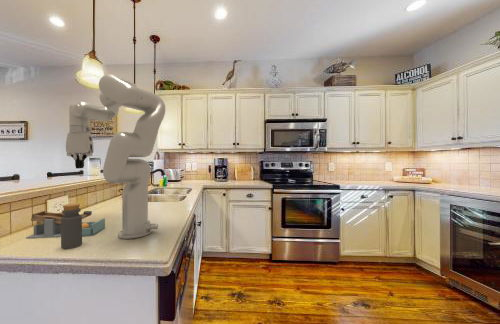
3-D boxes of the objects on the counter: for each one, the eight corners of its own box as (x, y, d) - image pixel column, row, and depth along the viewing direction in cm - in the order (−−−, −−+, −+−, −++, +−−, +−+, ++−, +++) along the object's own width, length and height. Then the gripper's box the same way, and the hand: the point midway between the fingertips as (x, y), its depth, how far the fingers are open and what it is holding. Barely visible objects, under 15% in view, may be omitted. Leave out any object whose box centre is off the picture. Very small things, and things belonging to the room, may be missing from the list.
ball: (82, 222, 92) (82, 230, 92) (76, 224, 89) (77, 233, 89) (90, 221, 93) (91, 229, 93) (86, 223, 89) (86, 232, 89)
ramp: (92, 217, 103) (93, 209, 103) (70, 228, 87) (71, 218, 87) (58, 214, 100) (60, 206, 101) (30, 224, 85) (31, 214, 85)
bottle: (69, 249, 73) (69, 206, 73) (56, 248, 74) (56, 205, 74) (86, 243, 79) (85, 203, 79) (73, 242, 80) (73, 202, 80)
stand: (81, 229, 95) (81, 213, 95) (67, 236, 86) (66, 219, 86) (44, 231, 92) (44, 215, 92) (26, 238, 84) (26, 220, 84)
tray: (104, 228, 97) (104, 218, 97) (92, 235, 87) (92, 224, 87) (82, 229, 95) (82, 219, 95) (67, 237, 85) (66, 225, 85)
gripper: (100, 131, 108) (100, 167, 108) (67, 131, 105) (67, 168, 105) (91, 129, 100) (92, 168, 100) (56, 129, 98) (56, 168, 98)
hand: (79, 168), depth 103 cm, fingers closed
